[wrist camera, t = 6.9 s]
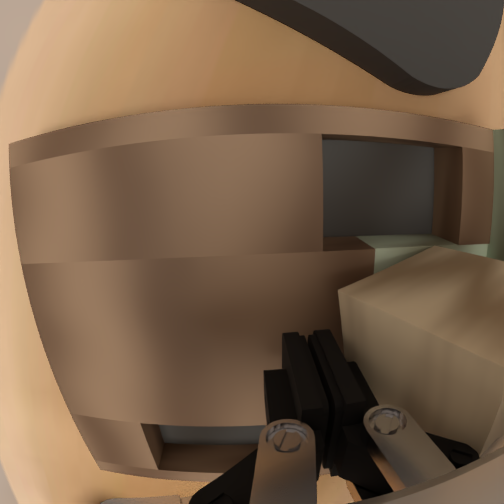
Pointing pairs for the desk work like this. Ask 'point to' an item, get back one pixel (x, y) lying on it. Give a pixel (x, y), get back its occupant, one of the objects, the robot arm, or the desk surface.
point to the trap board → (224, 256)
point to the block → (433, 341)
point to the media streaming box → (400, 36)
